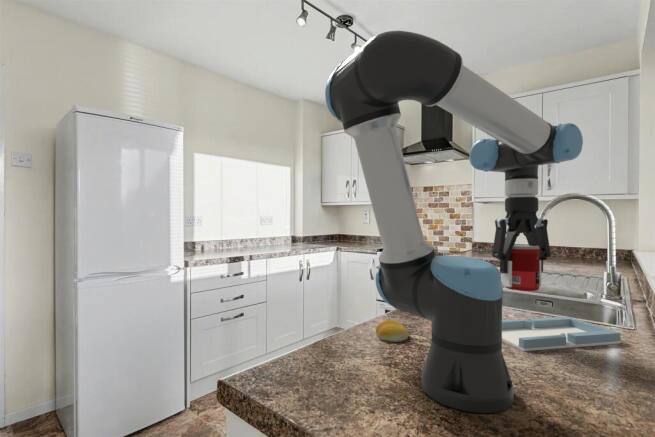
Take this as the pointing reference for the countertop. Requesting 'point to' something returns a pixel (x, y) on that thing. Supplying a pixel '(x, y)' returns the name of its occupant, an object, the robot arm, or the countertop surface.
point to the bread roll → (392, 331)
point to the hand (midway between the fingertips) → (521, 285)
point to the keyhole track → (555, 333)
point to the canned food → (525, 268)
